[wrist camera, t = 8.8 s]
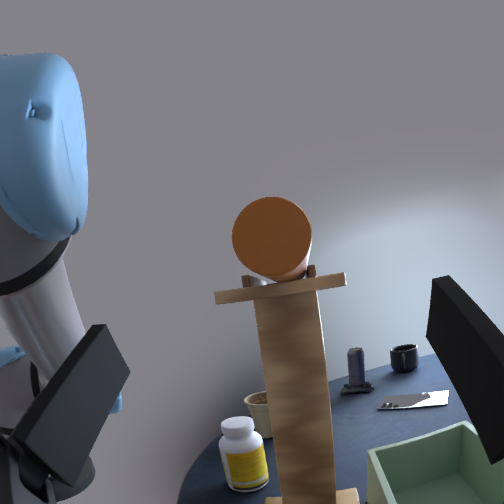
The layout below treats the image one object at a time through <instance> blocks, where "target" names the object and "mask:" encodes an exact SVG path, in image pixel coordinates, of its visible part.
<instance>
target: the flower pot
mask: <svg viewBox="0 0 504 504" xmlns="http://www.w3.org/2000/svg"><path fill="white" fill-rule="evenodd" d="M244 402H245V403H246V404H247V406H248V408H249V409H250V412H251V416H252V419H253V422H254V425H255V428H256V432H257V433H258V434H260V435H261V437H262V438H270V437H273V435H272V428H271V421H270V414H269V407H268V400H267V393H266V391H264V392H258V393H255V394H252V395H250V396H248V397H246V398H245V399H244Z"/></svg>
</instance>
